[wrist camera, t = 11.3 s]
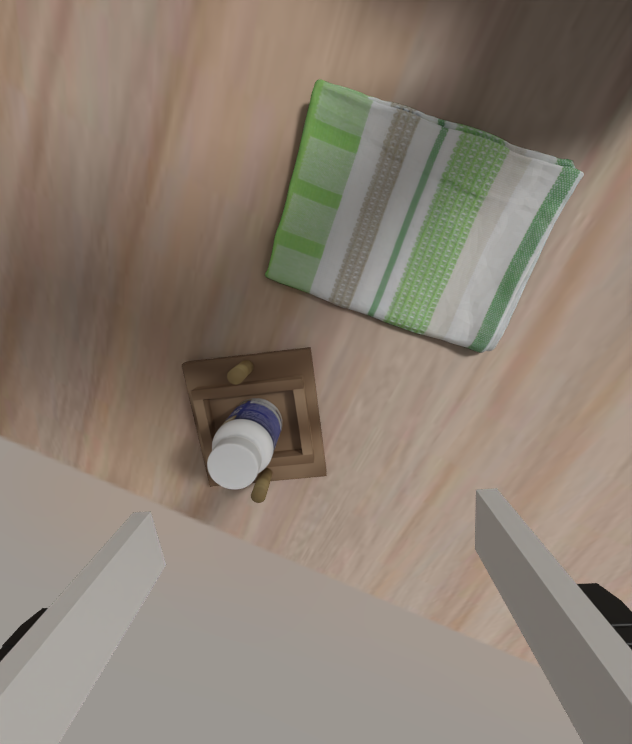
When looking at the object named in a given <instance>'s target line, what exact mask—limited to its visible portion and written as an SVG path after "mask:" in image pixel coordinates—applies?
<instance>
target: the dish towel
mask: <svg viewBox="0 0 632 744" xmlns="http://www.w3.org/2000/svg"><path fill="white" fill-rule="evenodd" d="M573 163H574V162H573V161H572V160H569V159H558V158H556V157H554V156H551V155H546V154H543V153H540V152H538V151H534V150H529V149H526V148H522V147H518V146H515V145H512V144H510V143H508V142H507V141H505V140H503V139H501V138H499V137H497V136H495V135H492V134H490V133H488V132H485V131H482V130H478V129H476V128H473V127H469V126H466V125H463V124H458V123H453V122H449V121H445V120H441V119H438V118H436V117H433V116H429V115H426V114H424V113H423V112H420V111H418V110H415V109H413V108H411V107H408V106H405V105H401V104H399V103H394V102H388V101H383V100H380V99H378V98H375V97H370V96H367V95H365V94H363V93H360V92H358V91H355V90H352V89H349V88H346V87H342V86H339V85H334V84H332V83H328V82H326V81H323V80H320V79H319V80H317V81H316V82H315V85H314V88H313V91H312V95H311V100H310V104H309V108H308V112H307V116H306V120H305V124H304V129H303V133H302V138H301V142H300V147H299V151H298V155H297V159H296V163H295V167H294V171H293V174H292V178H291V181H290V185H289V190H288V194H287V199H286V203H285V206H284V211H283V214H282V217H281V220H280V223H279V226H278V229H277V231H276V234H275V238H274V244H273V250H272V254H271V259H270V262H269V267H268V270H267V271H266V273H265V276H266V277H267V278H269V279H272V280H274V281H276V282H278V283H281V284H284V285H287V286H290V287H293V288H296V289H299V290H301V291H304V292H307V293H309V294H312V295H314V296H316V297H318V298H321V299H324V300H326V301H328V302H330V303H332V304H334V305H337V306H340V307H342V308H347V309H351V310H354V311H357V312H360V313H363V314H366V315H369V316H372V317H374V318H377V319H379V320H381V321H384V322H387V323H389V324H392V325H395V326H398V327H400V328H403V329H406V330H409V331H412V332H414V333H417V334H421V335H426V336H429V337H433V338H437V339H441V340H445V341H447V342H449V343H452V344H456V345H459V346H463V347H466V348H469V349H471V350H474V351H477V352H480V353H483V352H485V351H492V350H493V349H494V348H495V347H496V345H497V344H498V342H499V340H500V339H501V337H502V336H503V334H504V331H505V329H506V328H507V326H508V324H509V321H510V319H511V316H512V314H513V312H514V310H515V308H516V306H517V304H518V302H519V299H520V297H521V294H522V292H523V290H524V288H525V286H526V283H527V281H528V279H529V277H530V275H531V273H532V271H533V268H534V266H535V264H536V262H537V260H538V258H539V256H540V253H541V251H542V249H543V247H544V245H545V242H546V240H547V238H548V236H549V233H550V232H551V230H552V228H553V226H554V224H555V222H556V220H557V218H558V217H559V215H560V213H561V211H562V210H563V208H564V206H565V205H566V203H567V201H568V200H569V198H570V196H571V195H572V193H573V192H574V190H575V188H576V186H577V184H578V183H579V181H580V180H581V179H582V177H583V175H584V173H583V172H581V171H580V170H578V169H575V166H574V165H573Z"/></svg>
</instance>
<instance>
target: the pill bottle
mask: <svg viewBox="0 0 632 744" xmlns="http://www.w3.org/2000/svg"><path fill="white" fill-rule="evenodd" d="M281 429H282V417H281V414H280V412H279V410H278V409H277V408H276V406H275V405H273V404H272V403H271V402H269V401H267V400H265V399H261V398H251V399H247V400H245V401H243V402H241V403H240V404H239V405H238V406H237V407H236V408H235V410H234V411H233V412H232V413H231V414H230V416H229V417H228V418H227V419H226V421H225V422H224V423H223V424H222V426H221V427H220V428H219V429H218V431H217V432H216V434H215V436H214V438H213V442H212V452H211V453H210V455H209V457H208V461H207V468H208V472H209V474H210V476H211V478H212V479H213V480H214V481H215V482H216V483H217V484H219V485H220V486H222V487H224V488H228V489H242V488H245V487H247V486H249V485H250V484H251V483H252V482H253V481H254V480H255V478H256V477H257V474H258V473H260V472H261V471H263V470H264V469H265V468H266V467H267V465H268V464H269V462H270V461H271V458H272V455H273V452H274V449H275V447H276V444H277V441H278V438H279V435H280V432H281Z"/></svg>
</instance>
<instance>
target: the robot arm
mask: <svg viewBox="0 0 632 744" xmlns="http://www.w3.org/2000/svg"><path fill="white" fill-rule="evenodd" d="M475 550H476V551H477V553H478V555H479V557H480V559H481V560H482V562H483V564H484V566H485V568H486V569H487V571H488V573H489V575H490V577H491V578H492V580H493V582H494V584H495V586H496V587H497V589H498V591H499V593H500V595H501V596H502V598H503V600H504V602H505V604H506V605H507V607H508V609H509V611H510V613H511V614H512V616H513V618H514V620H515V621H516V623H517V625H518V627H519V629H520V630H521V632H522V634H523V636H524V638H525V639H526V641H527V643H528V645H529V647H530V648H531V650H532V652H533V654H534V656H535V657H536V659H537V661H538V663H539V665H540V666H541V668H542V670H543V672H544V673H545V675H546V677H547V679H548V680H549V682H550V684H551V686H552V688H553V690H554V691H555V693H556V695H557V697H558V699H559V701H560V702H561V704H562V706H563V708H564V710H565V711H566V713H567V715H568V717H569V718H570V720H571V722H572V724H573V726H574V727H575V729H576V731H577V733H578V735H579V736H580V738H581V740H582V742H583V744H632V612H631V611H630V609H629V608H628V607H627V606H626V605H625V604H624V603H623V602H622V601H621V600H620V599H618V598H617V597H615V596H614V595H613V594H611V593H610V592H608V591H607V590H606V589H604V588H603V587H601V586H600V585H599V584H597V583H591V584H576V583H575V582H574V580H573V579H572V578H571V577H570V576H569V574H568V573H567V572H566V571H565V570H564V568H563V567H562V566H561V565H560V564H559V562H558V561H557V560H556V559H555V558H554V556H553V555H552V554H551V553H550V552H549V550H548V549H547V548H546V547H545V546H544V544H543V543H542V542H541V541H540V540H539V538H538V537H537V536H536V535H535V534H534V532H533V531H532V530H531V529H530V528H529V526H528V525H527V524H526V523H525V522H524V521H523V519H522V518H521V517H520V516H519V515H518V513H517V512H516V511H515V510H514V509H513V507H512V506H511V505H510V504H509V503H508V501H507V500H506V499H505V498H504V497H503V495H502V494H501V493H500V492H499V491H498V489H497V488H495V489H480V490H476V517H475ZM165 566H166V563H165V559H164V556H163V552H162V549H161V546H160V542H159V538H158V535H157V532H156V528H155V525H154V521H153V518H152V515H151V512H135V513H133V514H132V515H131V516H130V517H129V518H128V519H127V520H126V521H125V522H124V523H123V525H122V526H121V527H120V528H119V529H118V530H117V531H116V533H115V534H114V535H113V536H112V537H111V538H110V539H109V540H108V541H107V543H106V544H105V545H104V546H103V547H102V548H101V549H100V550H99V552H98V553H97V554H96V555H95V556H94V557H93V558H92V559H91V561H90V562H89V563H88V564H87V565H86V566H85V567H84V568H83V570H82V571H81V572H80V573H79V574H78V575H77V576H76V577H75V579H74V580H73V581H72V582H71V583H70V584H69V585H68V586H67V588H66V589H65V590H64V591H63V592H62V593H61V594H60V595H59V597H58V598H57V599H56V600H55V601H54V602H53V603H52V604H51V606H50V607H49V608H42V609H41V610H40V611H38V612H37V613H36V614H35V615H33V616H32V617H31V618H30V619H28V620H27V621H26V622H25V623H23V624H22V625H21V626H20V627H19V628H18V629H17V630H16V631H15V632H14V633H13V635H12V636H11V637H10V638H9V639H8V640H7V641H6V642H5V643H4V644H3V645H2V648H1V649H0V744H59V743H60V741H61V739H62V737H63V735H64V734H65V732H66V731H67V729H68V728H69V726H70V724H71V723H72V721H73V719H74V717H75V716H76V714H77V713H78V711H79V709H80V707H81V706H82V704H83V703H84V701H85V699H86V698H87V696H88V694H89V692H90V691H91V689H92V687H93V686H94V684H95V683H96V681H97V679H98V677H99V676H100V674H101V673H102V671H103V669H104V668H105V666H106V664H107V662H108V661H109V659H110V657H111V656H112V654H113V653H114V651H115V649H116V648H117V646H118V644H119V643H120V641H121V639H122V638H123V636H124V634H125V632H126V631H127V629H128V627H129V626H130V624H131V622H132V621H133V619H134V617H135V616H136V614H137V613H138V611H139V609H140V608H141V606H142V604H143V603H144V601H145V599H146V598H147V596H148V594H149V593H150V591H151V589H152V588H153V586H154V584H155V583H156V580H157V579H158V577H159V576H160V574H161V573H162V571H163V569H164V568H165Z"/></svg>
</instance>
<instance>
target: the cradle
mask: <svg viewBox="0 0 632 744" xmlns="http://www.w3.org/2000/svg"><path fill="white" fill-rule="evenodd" d="M182 368H183V373H184V377H185V381H186V386H187V390H188V394H189V399H190V403H191V407H192V411H193V416H194V420H195V424H196V429H197V433H198V437H199V442H200V446H201V450H202V454H203V459H204V463H205V467H206V472H207V476H208V480H209V485H210V487H212V486H220V485H219V484H217V483H216V482H215V481H214V480H213V479H212V478H211V476H210V474H209V472H208V468H207V461H208V457H209V455H210V453H211V452H212V442H213V438H214V436H215V434H216V432H217V431H218V429H219V428H220V427H221V426H222V424H223V423H224V422H225V421H226V419H227V418H228V417H229V416H230V414H231V413H232V412H233V411H234V410H235V408H236V407H237V406H238V405H239V404H240V403H241V402H243V401H245V400H247V399H251V398H261V399H265V400H267V401H269V402H271V403H272V404H273V405H275V406H276V408H277V409H278V410H279V412H280V414H281V417H282V429H281V432H280V435H279V438H278V441H277V444H276V447H275V449H274V452H273V455H272V458H271V461H270V462H269V464H268V465H267V467H266V468H265V469H264V470H263V471H261V472H260V473H258V474H257V477H256V478H255V480H254V481H253V482H252V483H255V482H256V483H255V486H254V488H253V491H252V494H251V498H252V500H253V501H254V502H256V503H261V502H263V501H264V500H265V497H266V494H267V491H268V487H269V484H270V481H277V480H288V479H299V478H310V477H321V476H326V463H325V455H324V447H323V440H322V432H321V424H320V417H319V409H318V401H317V393H316V386H315V378H314V370H313V363H312V355H311V347H308V348H300V349H291V350H283V351H274V352H266V353H257V354H249V355H240V356H232V357H223V358H215V359H206V360H198V361H189V362H185V363H183V364H182Z"/></svg>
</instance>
